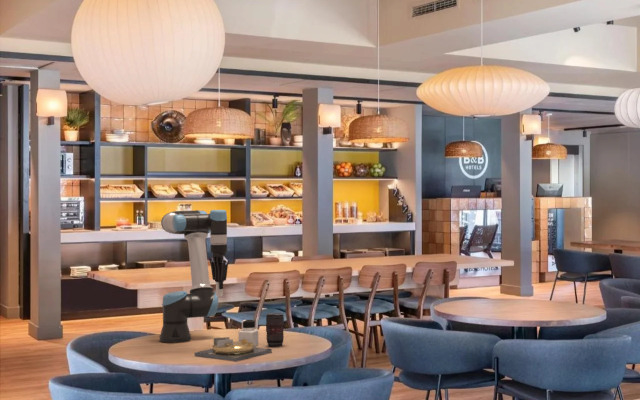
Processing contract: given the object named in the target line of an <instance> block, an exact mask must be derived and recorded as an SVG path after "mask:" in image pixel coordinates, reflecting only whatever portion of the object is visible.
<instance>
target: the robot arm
mask: <svg viewBox="0 0 640 400" xmlns="http://www.w3.org/2000/svg"><path fill="white" fill-rule="evenodd" d="M160 224H161V229H162V230H163V231H165V232H166V233H169V234H172V235H183V236H184V239H185V240H186V241H187V244H188V256H189V257H188V258H189V267H190V277H191V286H192V287H191V288H190V290H189V293H188V292H187V291H186V290H178V291H172V292H168V293H166V294H163V296H162V304H161V305H162V327H161V332H160V335H159V342H160V343H167V344H168V343H169V344H173V343H174V344H177V343H186V342H189V341H192V334H191V333H190V329H189V324H188V319H192V318H208V317H213V316H215V315H216V313H218V312H217V311H218V306H219V297H223V296H224V282H225V281H226V280H227V277H228V268H229V267H228V266H229V264H230V260H229V259H227V257H226V253H227V252H228V244H227V243H228V215H227V210H225V209H212V210H210V211H209V213H208V212H207V211H205V210H197V209H196V210H173V211H170V212H167V213H166V214H164V215H163V216H162V218H161V221H160ZM209 234H210V235H209ZM208 235H209V236H210V241H209V243H210V244H211V245H210V253H212V257H211V258H209V259H208V254H207V253H208V252H207V245H206V239H207V238H208ZM208 260H209V261H208ZM208 262H209V263H210V269H211V277H212V280H213V281H215V290H214V287H213V286H212V285H211V284H210V282H211V281H210V275H209V274H210V273H209V265H208V264H209V263H208Z"/></svg>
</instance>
